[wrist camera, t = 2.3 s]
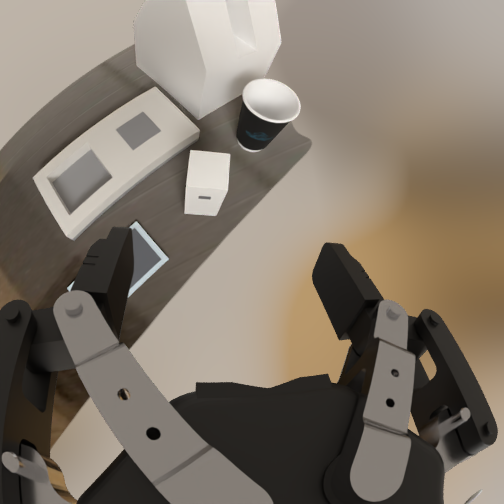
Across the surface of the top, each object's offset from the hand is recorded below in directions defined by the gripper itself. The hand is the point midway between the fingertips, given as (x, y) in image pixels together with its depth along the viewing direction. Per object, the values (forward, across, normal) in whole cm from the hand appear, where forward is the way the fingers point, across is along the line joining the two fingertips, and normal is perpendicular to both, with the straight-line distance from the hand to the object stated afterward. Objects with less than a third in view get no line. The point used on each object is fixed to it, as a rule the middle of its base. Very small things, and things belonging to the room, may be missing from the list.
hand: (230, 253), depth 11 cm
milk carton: (+45, -4, +8) cm, 46 cm away
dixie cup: (+35, +7, -2) cm, 36 cm away
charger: (+27, 0, -10) cm, 29 cm away
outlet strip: (+31, -14, -6) cm, 34 cm away
